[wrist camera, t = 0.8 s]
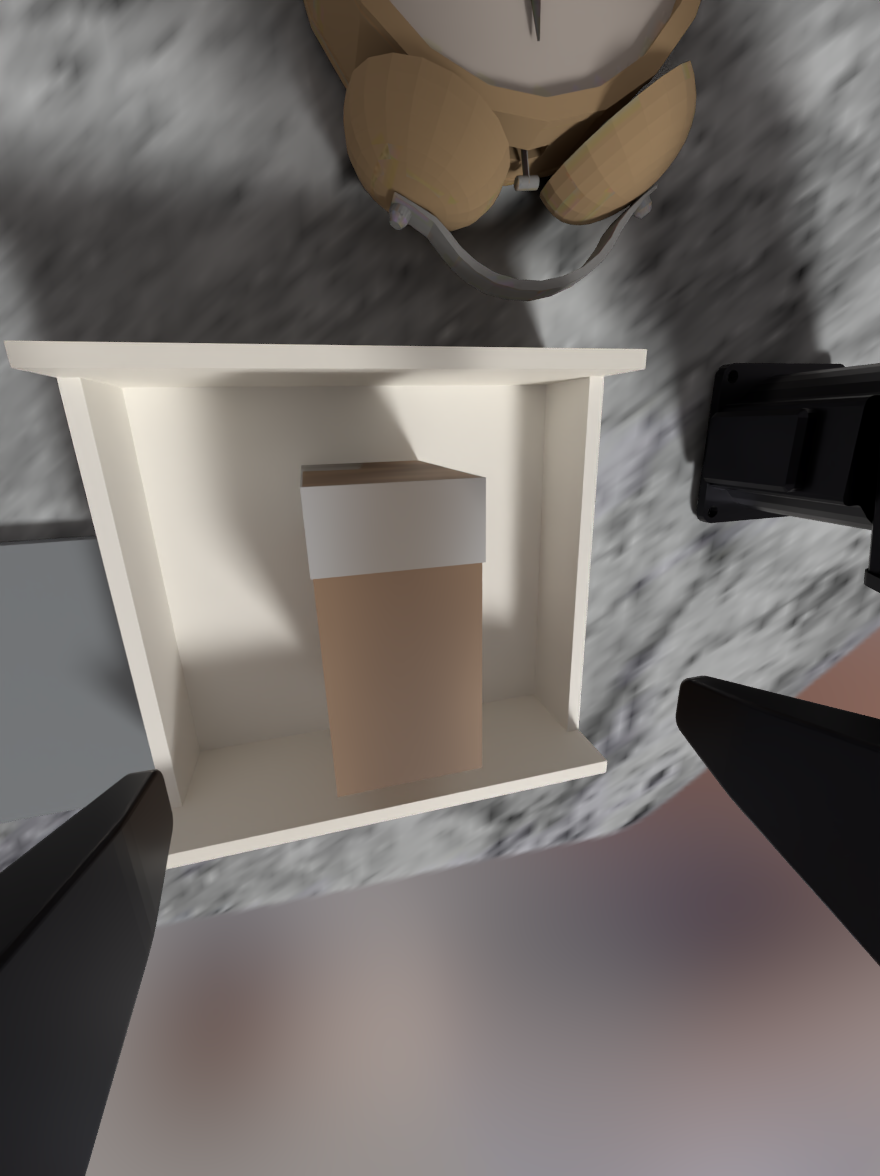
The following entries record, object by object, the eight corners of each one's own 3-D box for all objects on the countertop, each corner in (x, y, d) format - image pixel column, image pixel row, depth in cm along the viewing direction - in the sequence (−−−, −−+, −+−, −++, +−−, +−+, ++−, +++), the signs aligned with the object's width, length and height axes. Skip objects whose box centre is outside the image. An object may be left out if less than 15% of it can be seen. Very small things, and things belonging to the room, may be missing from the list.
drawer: (552, 371, 18) (647, 349, 13) (538, 696, 23) (606, 772, 18) (105, 371, 15) (4, 340, 10) (191, 756, 19) (150, 872, 14)
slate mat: (124, 533, 16) (118, 537, 16) (182, 780, 19) (178, 790, 19) (-136, 552, 15) (-153, 556, 14) (-27, 818, 18) (-38, 830, 17)
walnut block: (418, 460, 18) (485, 477, 11) (426, 659, 20) (485, 769, 14) (301, 465, 17) (299, 487, 10) (324, 674, 19) (335, 800, 13)
